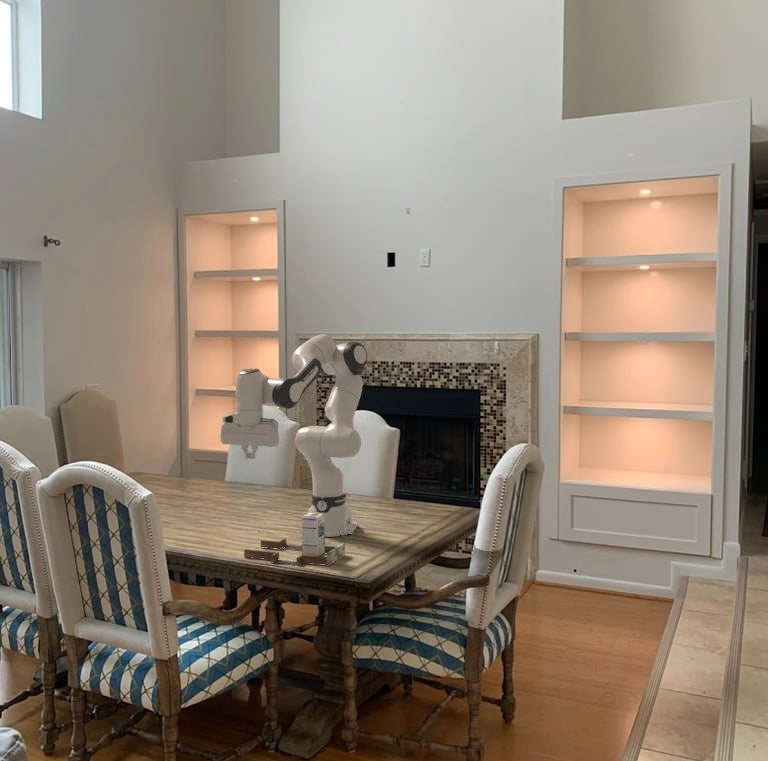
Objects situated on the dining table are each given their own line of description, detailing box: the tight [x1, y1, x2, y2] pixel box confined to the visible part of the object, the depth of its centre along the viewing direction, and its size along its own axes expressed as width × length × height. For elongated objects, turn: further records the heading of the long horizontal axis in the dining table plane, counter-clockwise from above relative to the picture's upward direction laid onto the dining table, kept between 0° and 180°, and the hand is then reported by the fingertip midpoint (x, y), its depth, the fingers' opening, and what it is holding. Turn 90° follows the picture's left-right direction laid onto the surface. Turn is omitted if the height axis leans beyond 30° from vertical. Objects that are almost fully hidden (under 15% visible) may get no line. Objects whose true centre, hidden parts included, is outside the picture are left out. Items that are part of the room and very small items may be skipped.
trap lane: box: [243, 537, 346, 566], centre depth 266 cm, size 20×30×4 cm
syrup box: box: [301, 512, 326, 557], centre depth 263 cm, size 6×6×14 cm
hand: (250, 458), depth 271 cm, fingers closed
